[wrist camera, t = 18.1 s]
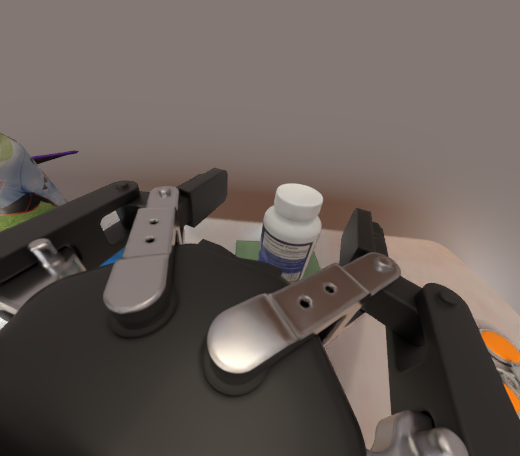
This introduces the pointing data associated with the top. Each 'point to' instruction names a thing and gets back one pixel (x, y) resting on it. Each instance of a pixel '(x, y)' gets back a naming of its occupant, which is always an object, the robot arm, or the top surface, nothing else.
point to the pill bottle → (291, 230)
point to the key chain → (505, 361)
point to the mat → (252, 250)
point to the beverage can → (23, 186)
